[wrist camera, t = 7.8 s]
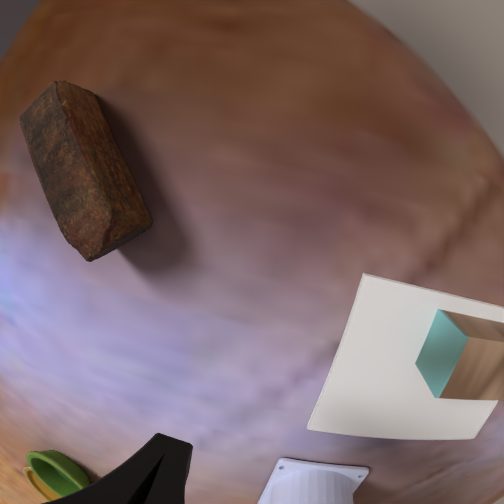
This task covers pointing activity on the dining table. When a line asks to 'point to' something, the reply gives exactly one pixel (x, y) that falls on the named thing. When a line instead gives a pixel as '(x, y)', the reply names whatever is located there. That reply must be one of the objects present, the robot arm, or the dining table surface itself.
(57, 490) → the tableware set
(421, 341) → the white mat
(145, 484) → the robot arm
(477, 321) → the walnut block
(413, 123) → the dining table surface
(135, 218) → the brick
